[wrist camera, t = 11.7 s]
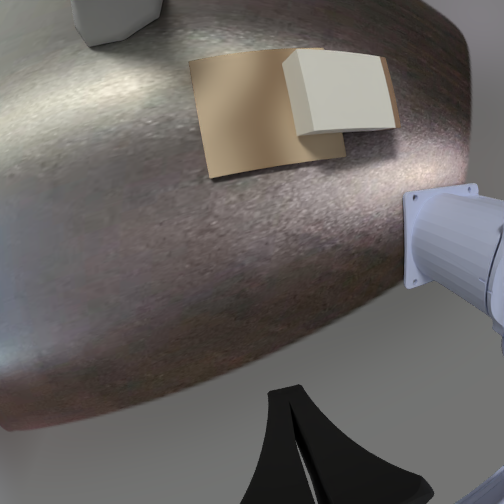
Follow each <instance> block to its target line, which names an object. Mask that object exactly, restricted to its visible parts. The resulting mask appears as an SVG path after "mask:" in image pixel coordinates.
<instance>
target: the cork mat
mask: <svg viewBox="0 0 504 504" xmlns="http://www.w3.org/2000/svg"><path fill="white" fill-rule="evenodd" d="M296 49H313V50H324V49H323V48H289V49H272V50H260V51H250V52H241V53H234V54H227V55H221V56H215V57H209V58H204V59H198V60H194V61H189V67H190V73H191V79H192V85H193V91H194V96H195V102H196V108H197V113H198V119H199V124H200V130H201V135H202V141H203V146H204V151H205V156H206V162H207V167H208V172H209V177H210V178H214V177H219V176H224V175H229V174H234V173H240V172H245V171H251V170H256V169H262V168H268V167H274V166H280V165H287V164H294V163H300V162H308V161H315V160H323V159H332V158H340V157H346V151H345V145H344V139H343V133H342V132H339V133H325V134H313V135H302V136H297V134H296V129H295V124H294V118H293V113H292V108H291V103H290V98H289V94H288V89H287V84H286V80H285V75H284V71H283V66H282V63H283V62H284V61H285V60H286V59H287V58H288V57H289V56H290V55H291V54H292V53H293V52H294V51H295V50H296Z"/></svg>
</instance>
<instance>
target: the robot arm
mask: <svg viewBox="0 0 504 504" xmlns="http://www.w3.org/2000/svg"><path fill="white" fill-rule="evenodd" d="M413 196H415V199H414V200H413ZM403 209H404V238H405V261H404V286H405V288H407V289H411V288H415V287H417V286H420V285H423V284H426V283H429V282H432V281H437V282H438V283H440V284H441V285H443V286H444V287H446V288H447V289H449V290H451V291H452V292H454V293H455V294H457V295H458V296H460V297H461V298H463V299H464V300H466V301H467V302H469V303H470V304H472V305H473V306H475V307H476V308H478V309H479V310H481V311H482V312H484V313H485V314H486V315H488V316H489V317H491V318H492V320H493V327H492V328H493V330H494V331H496V332H497V333H498V334H500V335H501V336H502V344H501V347H502V353H503V356H504V201H502V200H498V199H494V198H490V197H485V196H481V195H478V186H477V185H476V184H474V183H471V184H462V185H454V186H446V187H438V188H431V189H423V190H416V191H409V192H406V193H405V194H404V195H403ZM414 280H415V282H414V283H413V281H414ZM268 402H269V407H268V420H267V427H266V433H265V438H264V442H263V447H262V451H261V454H260V458H259V461H258V464H257V467H256V470H255V473H254V475H253V478H252V480H251V482H250V485H249V487H248V489H247V491H246V493H245V495H244V497H243V499H242V501H241V503H240V504H315V502H314V499H313V496H312V493H311V490H310V487H309V484H308V481H307V478H306V475H305V471H304V468H303V465H302V462H301V459H300V456H299V452H298V449H297V445H298V448H299V450H300V452H301V455H302V457H303V460H304V463H305V465H306V468H307V470H308V473H309V475H310V478H311V481H312V484H313V487H314V491H315V495H316V498H317V501H318V504H426V503H427V502H428V501H429V500H430V499H431V498H432V497H433V496H434V491H433V489H432V487H431V486H430V485H429V484H428V483H427V481H426V480H425V479H424V478H423V477H422V476H420V475H417V474H414V473H412V472H409V471H406V470H404V469H401V468H399V467H397V466H394V465H392V464H390V463H388V462H386V461H384V460H383V459H381V458H379V457H377V456H375V455H374V454H372V453H370V452H368V451H367V450H365V449H364V448H362V447H361V446H360V445H358V444H357V443H355V442H354V441H353V440H351V439H350V438H349V437H347V436H346V435H345V434H344V433H343V432H342V431H341V430H339V429H338V428H337V427H336V426H335V425H334V424H333V423H332V422H331V421H330V420H329V419H328V418H327V417H326V416H325V415H324V414H323V413H322V412H321V411H320V410H319V408H318V407H317V406H316V405H315V404H314V402H313V401H312V400H311V399H310V397H309V396H308V395H307V393H306V392H305V390H304V388H303V387H302V386H301V385H299V384H298V385H295V386H291V387H286V388H282V389H277V390H272V391H269V392H268ZM296 442H297V445H296ZM454 504H504V465H503V466H502V467H501V468H500V469H499V470H498V471H496V472H495V473H494V474H493V475H492V476H491V477H489V478H488V479H487V480H486V481H484V482H483V483H482V484H481V485H479V486H478V487H477V488H475V489H474V490H473V491H471V492H470V493H469V494H467V495H466V496H464V497H463V498H462V499H460V500H459V501H457V502H456V503H454Z"/></svg>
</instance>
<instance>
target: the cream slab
mask: <svg viewBox="0 0 504 504" xmlns="http://www.w3.org/2000/svg"><path fill="white" fill-rule="evenodd" d="M282 66H283V71H284V75H285V80H286V84H287V89H288V94H289V98H290V103H291V108H292V113H293V118H294V124H295V129H296V134H297V136H302V135H313V134H325V133H339V132H358V131H381V130H388V129H395V128H401V125H400V119H399V114H398V109H397V104H396V99H395V95H394V90H393V86H392V82H391V78H390V74H389V70H388V66H387V63H386V59H385V58H384V57H379V56H372V55H366V54H358V53H350V52H341V51H329V50H313V49H296V50H295V51H294V52H293V53H292V54H291V55H290V56H289V57H288V58H287V59H286V60H285V61H284V62H283V63H282Z"/></svg>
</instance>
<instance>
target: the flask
mask: <svg viewBox="0 0 504 504" xmlns="http://www.w3.org/2000/svg"><path fill="white" fill-rule="evenodd" d="M162 2H163V0H71V6H72V12H73V18H74V23H75V28H76V29H77V31H78V32H79V34H80V35H81V37H82V38H83V40H84V41H85V43H86V44H87V46H88V47H92V46H96V45H101V44H105V43H111V42H116V41H122V40H125V39H126V38H128V37H129V36H131V35H132V34H134V33H135V32H137V31H138V30H140V29H141V28H143V27H144V26H146V25H147V24H149V23H151V22H152V21H154V20H155V19H157V18H159V16H160V11H161V7H162Z"/></svg>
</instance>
